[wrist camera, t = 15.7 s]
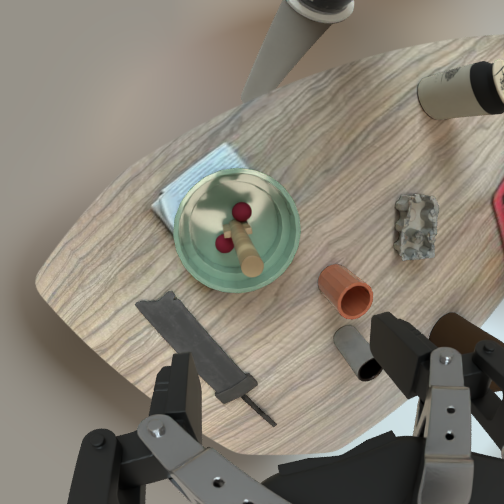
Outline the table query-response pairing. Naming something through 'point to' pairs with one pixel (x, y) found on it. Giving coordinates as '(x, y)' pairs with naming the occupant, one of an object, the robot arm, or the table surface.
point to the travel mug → (464, 91)
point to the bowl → (219, 213)
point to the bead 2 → (241, 211)
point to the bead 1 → (224, 244)
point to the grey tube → (357, 353)
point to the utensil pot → (345, 291)
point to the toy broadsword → (199, 349)
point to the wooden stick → (244, 247)
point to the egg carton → (416, 226)
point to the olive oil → (460, 336)
